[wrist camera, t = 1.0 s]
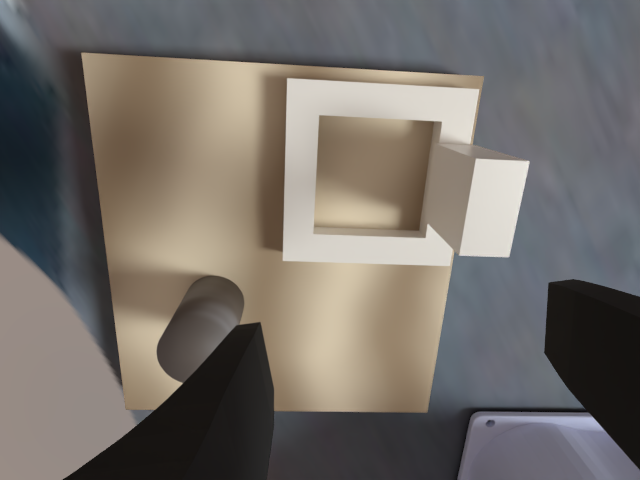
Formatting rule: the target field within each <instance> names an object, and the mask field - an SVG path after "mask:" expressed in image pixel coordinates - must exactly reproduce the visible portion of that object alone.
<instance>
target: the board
mask: <svg viewBox="0 0 640 480" xmlns="http://www.w3.org/2000/svg"><path fill="white" fill-rule="evenodd" d="M81 55H82V63H83V71H84V79H85V87H86V95H87V103H88V111H89V119H90V127H91V135H92V143H93V151H94V159H95V167H96V175H97V183H98V191H99V199H100V207H101V215H102V223H103V231H104V239H105V247H106V255H107V263H108V271H109V279H110V287H111V295H112V303H113V312H114V320H115V328H116V336H117V344H118V352H119V360H120V368H121V376H122V384H123V392H124V400H125V408H126V410H156V409H157V408H158V407H159V406H160V405H161V404H162V403H163V402H164V401H166V400H167V399H168V398H169V397H170V396H171V395H172V394H173V393H174V392H175V391H176V390H177V389H178V388H179V387H180V386H181V385H182V384H183V383H184V382H185V381H186V380H187V379H188V378H189V377H190V376H191V375H192V374H193V373H194V372H195V371H196V370H197V368H198V367H199V366H200V365H201V364H202V363H203V362H204V361H205V360H206V359H207V357H208V356H209V355H210V354H211V353H212V352H213V351H214V350H215V349H216V347H217V346H218V345H219V344H220V343H221V342H222V340H223V339H224V338H225V337H226V336H227V335H228V334H229V332H230V331H231V330H232V329H233V328H234V327H235V326H236V325H241V324H249V323H256V322H261V326H262V331H263V336H264V341H265V346H266V351H267V356H268V361H269V366H270V371H271V376H272V381H273V386H274V411H319V412H418V413H427V411H428V405H429V399H430V393H431V387H432V381H433V375H434V369H435V363H436V357H437V351H438V345H439V340H440V334H441V328H442V322H443V316H444V310H445V304H446V298H447V292H448V286H449V280H450V274H451V268H452V262H453V257H454V250H452V256H451V262H450V266H428V265H396V264H364V263H332V262H300V261H283V228H284V187H285V146H286V105H287V78H293V79H310V80H328V81H345V82H363V83H380V84H398V85H415V86H433V87H450V88H468V89H479V95H478V101H477V107H476V113H475V119H474V125H473V131H472V137H471V143H470V145H472V144H473V138H474V132H475V126H476V120H477V114H478V108H479V102H480V97H481V91H482V85H483V79H484V76H469V75H452V74H436V73H419V72H402V71H385V70H368V69H351V68H334V67H317V66H300V65H283V64H266V63H249V62H232V61H215V60H198V59H181V58H165V57H148V56H131V55H114V54H97V53H81ZM433 125H434V121H422V120H403V119H383V118H364V117H345V116H326V115H319V128H318V149H317V169H316V189H315V210H314V227H333V228H360V229H388V230H415V231H419V228H420V220H421V213H422V206H423V198H424V191H425V184H426V176H427V169H428V162H429V154H430V147H431V140H432V132H433Z"/></svg>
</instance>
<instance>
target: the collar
mask: <svg viewBox="0 0 640 480" xmlns="http://www.w3.org/2000/svg"><path fill="white" fill-rule="evenodd" d="M478 95H479V89H468V88H450V87H433V86H415V85H398V84H380V83H363V82H345V81H328V80H310V79H293V78H287V105H286V146H285V187H284V228H283V261H300V262H332V263H364V264H396V265H428V266H450V262H451V256H452V250H454V251H455V252H456V253H457V254H458V255H459V256H487V257H509V255H510V250H511V246H512V241H513V236H514V232H515V227H516V222H517V218H518V213H519V208H520V204H521V199H522V195H523V190H524V185H525V181H526V176H527V171H528V167H529V162H530V161H527V160H524V159H520V158H517V157H514V156H510V155H507V154H503V153H500V152H497V151H493V150H490V149H486V148H483V147H480V146H476V145H470V143H471V137H472V131H473V125H474V119H475V113H476V107H477V101H478ZM319 115H326V116H345V117H364V118H383V119H403V120H422V121H434V125H433V132H432V140H431V147H430V154H429V162H428V169H427V176H426V184H425V191H424V198H423V206H422V213H421V220H420V228H419V231H415V230H388V229H360V228H333V227H314V210H315V189H316V169H317V149H318V128H319Z"/></svg>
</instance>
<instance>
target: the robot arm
mask: <svg viewBox="0 0 640 480" xmlns="http://www.w3.org/2000/svg"><path fill="white" fill-rule="evenodd" d="M544 353H545V355H546V356H547V358H548V359H549V361H550V362H551V364H552V366H553V367H554V369H555V370H556V372H557V373H558V375H559V376H560V378H561V379H562V381H563V382H564V383H565V385H566V386H567V388H568V389H569V390H570V391H571V392H572V394H573V395H574V396H575V397H576V398H577V399H578V401H579V402H580V403H581V404H582V405H583V406H584V408H585V409H586V410H587V411H588V412H589V413H573V412H476V413H474V414H473V415H472V416H471V418H470V422H469V427H468V431H467V436H466V441H465V446H464V450H463V455H462V460H461V465H460V469H459V474H458V479H457V480H640V297H638V296H635V295H632V294H628V293H625V292H622V291H618V290H615V289H612V288H608V287H604V286H601V285H597V284H593V283H589V282H585V281H580V280H574V279H572V280H564V281H557V282H550V283H549V286H548V302H547V318H546V334H545V351H544ZM488 420H491V421H489V422H487V421H488ZM273 428H274V386H273V381H272V376H271V371H270V366H269V361H268V356H267V351H266V346H265V341H264V336H263V331H262V326H261V322H256V323H249V324H241V325H236V326H235V327H234V328H233V329H232V330H231V331H230V332H229V334H228V335H227V336H226V337H225V338H224V339H223V340H222V342H221V343H220V344H219V345H218V346H217V347H216V349H215V350H214V351H213V352H212V353H211V354H210V355H209V356H208V357H207V359H206V360H205V361H204V362H203V363H202V364H201V365H200V366H199V367H198V368H197V370H196V371H195V372H194V373H193V374H192V375H191V376H190V377H189V378H188V379H187V380H186V381H185V382H184V383H183V384H182V385H181V386H180V387H179V388H178V389H177V390H176V391H175V392H174V393H173V394H172V395H171V396H170V397H169V398H168V399H167V400H166V401H164V402H163V403H162V404H161V405H160V406H159V407H158V408H157V409H156V410H154V411H153V412H152V413H151V414H150V415H149V416H148V417H146V418H145V419H144V420H143V421H142V422H140V423H139V424H138V425H137V426H136V427H134V428H133V429H132V430H131V431H129V432H128V433H127V434H126V435H124V436H123V437H122V438H121V439H119V440H118V441H117V442H115V443H114V444H112V445H111V446H110V447H108V448H107V449H106V450H104V451H103V452H101V453H100V454H99V455H97V456H96V457H94V458H93V459H92V460H91V461H89V462H88V463H86V464H85V465H83V466H82V467H81V468H79V469H78V470H77V471H75V472H74V473H72V474H71V475H69V476H68V477H66V478H64V479H63V480H266V479H267V472H268V465H269V458H270V451H271V443H272V436H273Z"/></svg>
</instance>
